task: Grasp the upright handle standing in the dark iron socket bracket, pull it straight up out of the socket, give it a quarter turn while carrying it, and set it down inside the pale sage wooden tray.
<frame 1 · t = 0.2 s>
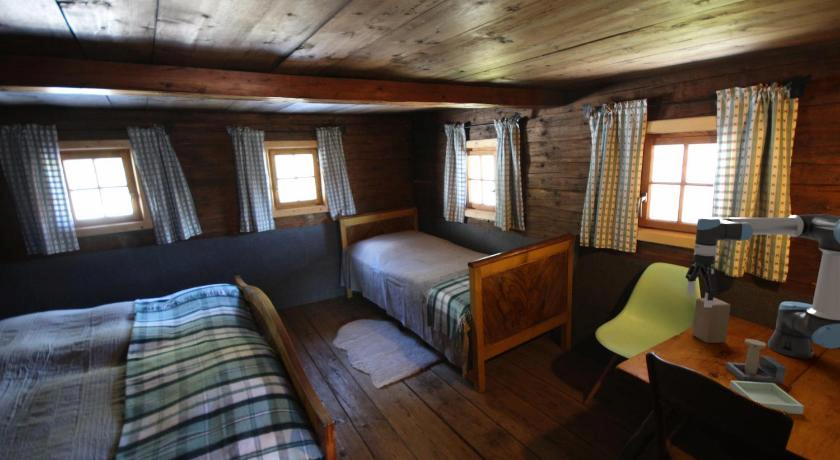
hand: (698, 301, 165), 27 cm above the table, fingers open, 13 cm apart
wooden block: (708, 339, 188), on the table
tray: (763, 400, 141), on the table
socket: (750, 375, 157), on the table
handle: (749, 376, 157), resting in socket
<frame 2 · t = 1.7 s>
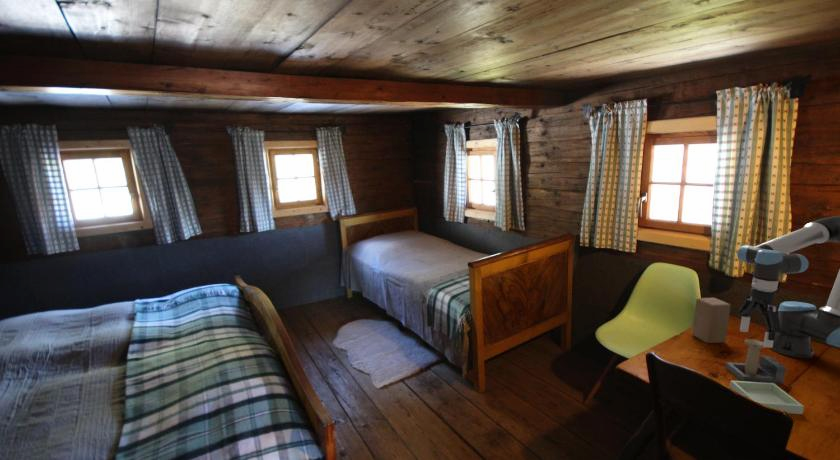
hand: (755, 338, 153), 16 cm above the table, fingers open, 13 cm apart
nothing on the table moved.
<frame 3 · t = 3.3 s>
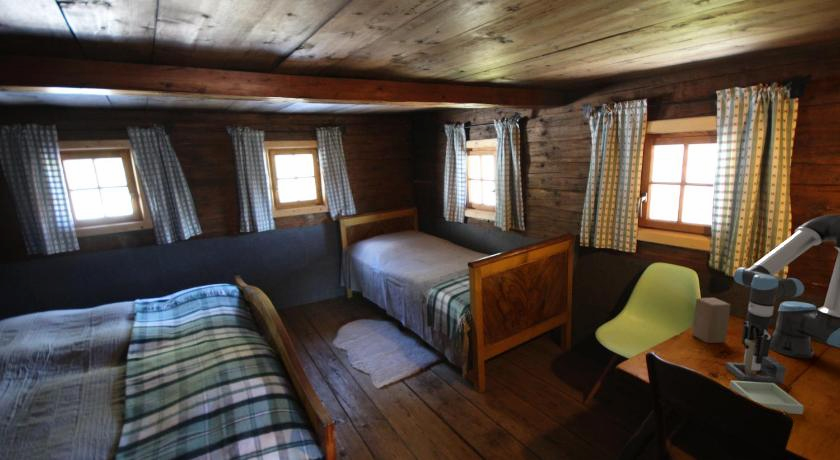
hand: (751, 366, 156), 4 cm above the table, fingers closed on handle, 4 cm apart
handle: (749, 376, 157), resting in socket, touching gripper
everything else where it was.
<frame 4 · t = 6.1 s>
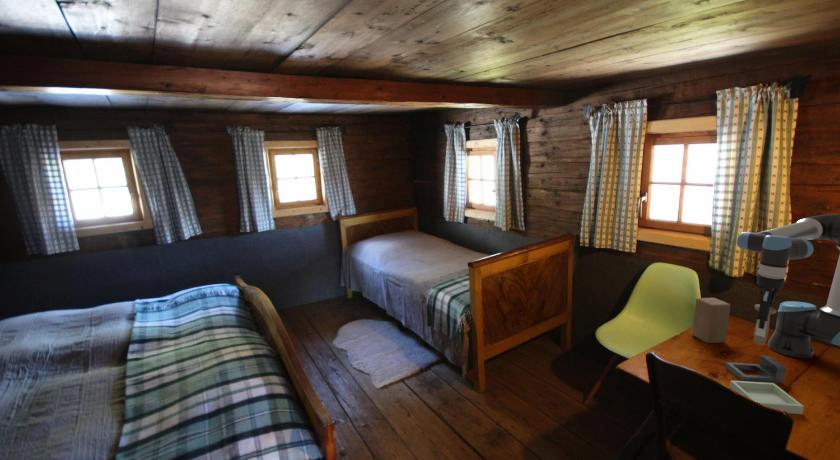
hand: (761, 333, 147), 21 cm above the table, fingers closed on handle, 4 cm apart
handle: (759, 344, 148), point 17 cm above the table, touching gripper
everything else where it was.
when the fingers open (6 cm above the table, at t = 9.2 s): handle stays where it is, resting on tray.
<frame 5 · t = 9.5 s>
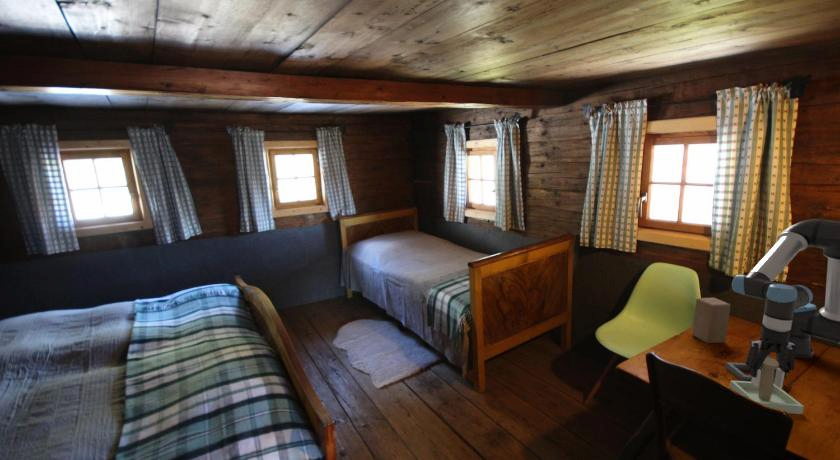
hand: (766, 385, 140), 6 cm above the table, fingers open, 7 cm apart
handle: (764, 398, 141), resting on tray
everything else where it was.
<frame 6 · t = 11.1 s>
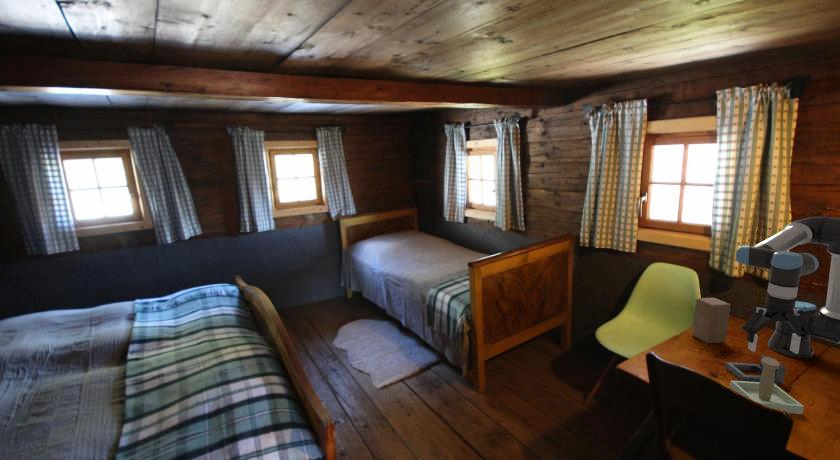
hand: (772, 351, 137), 20 cm above the table, fingers open, 13 cm apart
nothing on the table moved.
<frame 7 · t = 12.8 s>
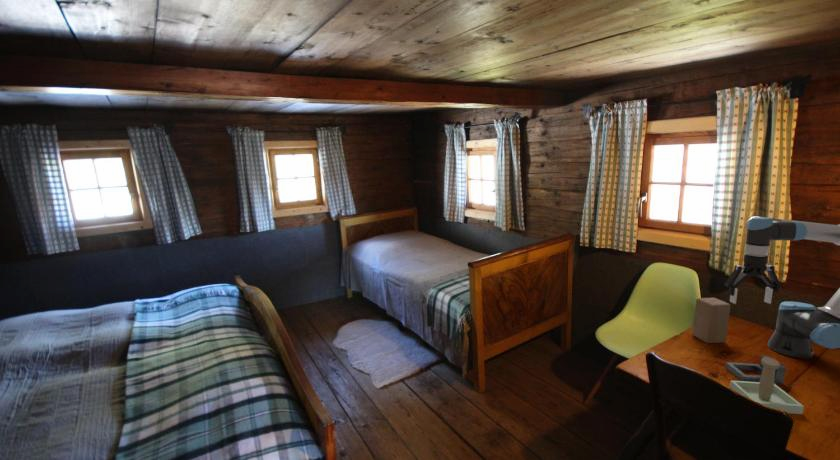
hand: (750, 302, 162), 28 cm above the table, fingers open, 13 cm apart
nothing on the table moved.
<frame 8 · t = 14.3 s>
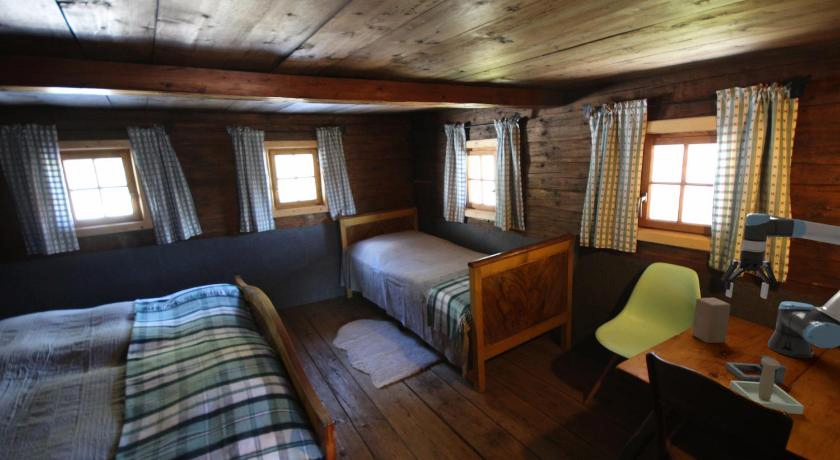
hand: (745, 297, 165), 29 cm above the table, fingers open, 13 cm apart
nothing on the table moved.
at the end: handle inside the target area on the tray (0.1 cm from its centre), point 0.4 cm above the tray's base; handle touching tray; the gripper is holding nothing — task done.
